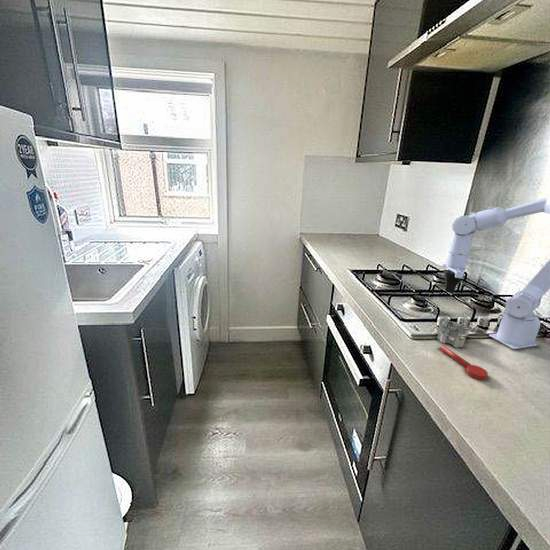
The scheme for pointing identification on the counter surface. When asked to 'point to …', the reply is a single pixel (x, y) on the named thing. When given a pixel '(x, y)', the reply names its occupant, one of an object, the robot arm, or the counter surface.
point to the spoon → (467, 365)
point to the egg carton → (452, 333)
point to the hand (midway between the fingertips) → (448, 291)
